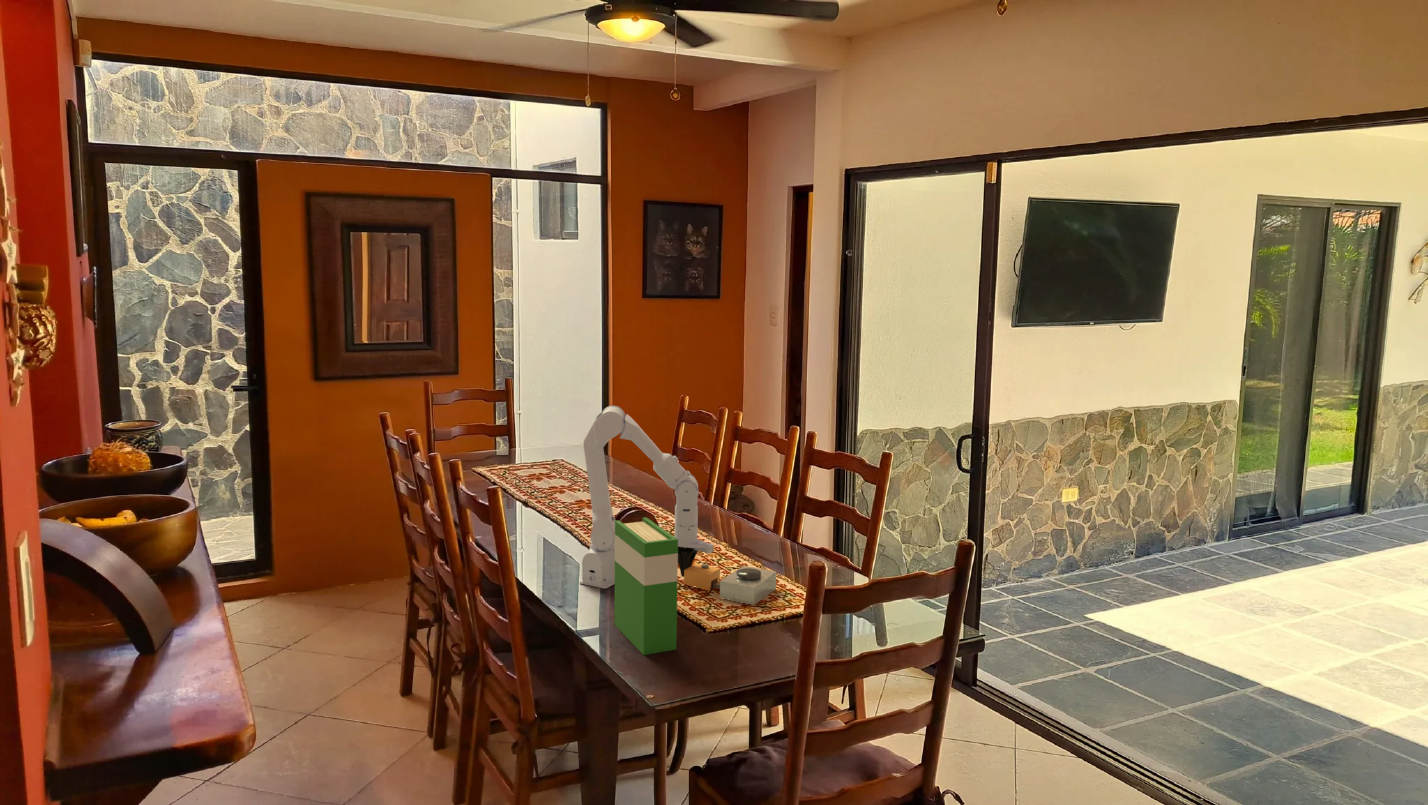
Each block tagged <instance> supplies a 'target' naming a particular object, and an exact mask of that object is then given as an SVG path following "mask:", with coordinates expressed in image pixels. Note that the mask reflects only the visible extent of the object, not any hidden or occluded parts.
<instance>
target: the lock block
mask: <svg viewBox="0 0 1428 805" xmlns="http://www.w3.org/2000/svg"><path fill="white" fill-rule="evenodd" d="M711 581H718V582H720V581H721V568H720V567H717V566H716V567H714V566H710V564H707V563H703V564H700V563H693V564H692V566H691V567H689V568H687V569H686V570H684V577H683V585H684V584H687V585H690V586H696V587H699V588H705V589H708V590H709V589H710V588H711ZM711 589H712V588H711ZM711 589H710V590H711ZM708 590H707V591H708ZM710 590H709V591H710Z"/></svg>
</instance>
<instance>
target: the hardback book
mask: <svg viewBox="0 0 1428 805" xmlns="http://www.w3.org/2000/svg"><path fill="white" fill-rule="evenodd" d="M674 536H675V535H673V534H671V533H669V531H666V530H665V529H664V528H662V527H661V526H659V525H658V524H657V523H655V522H654V521H653V520H651V519H650V518H648V517H642V521H635V522H628V523H623V522H621V521H620V520H616V521H615V584H614V614H613V615H614V620H613V621H614V626H615V627H616V628H617V629H618V630H619V631H620V632H621V633H622V634H623V635H624V636H625V638H627V640H629V641H630V643H631V644H632V645H633V646H634V647H635V648H636V649H637V650H638V651H639V652H640V653H641V654H642V655H643V656H646V655H652V654H659V653H663V652H668V651H669V652H670V651H675V650H677V633H678V630H677V629H678V627H677V626H678V568H679V564H678V539H677V538H675V537H674Z"/></svg>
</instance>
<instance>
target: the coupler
mask: <svg viewBox="0 0 1428 805" xmlns="http://www.w3.org/2000/svg"><path fill="white" fill-rule="evenodd" d="M713 588H718V589H720V590H719V598H720V597H721V598H724V599H729V600H732V601H731V602H733V601H736V602H735V603H738V602H742V603H741V604H743V603H745V604H744V605H748V604H751V605H750V606H753V605H754V604H755V605H756V604H758V603H759V602H760V601H762V600H763V599H764V598H766V597H768V595H770V594H771V593H773V592H774V591H775V590H776V589H777V571H775V570H768V569H763V568H757V567H751V566H747V565H743V566H741V567H739V568H738V569H736V570H735V571H733V572H732V573H730V574H729V575H727V576H725V577H724V578H722V579H720V582H718V581H711V589H713ZM718 589H717V590H718ZM724 599H723V600H724ZM729 600H728V601H729ZM755 605H754V606H755Z"/></svg>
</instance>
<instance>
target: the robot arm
mask: <svg viewBox="0 0 1428 805" xmlns="http://www.w3.org/2000/svg"><path fill="white" fill-rule="evenodd" d="M618 435H620V436H619V439H622V440H629V441H632V443H634V445H636V447H637V448H639V449H640V451H641V452H643V454H644V455H646V456H647V458H648V459H650V460H651V461H652V463H653V465H652V469H653V471H654V472H655V473H656V474H657V476H659V477H660V478H661V480H662V481H664V483H665V484H666V485H667V486H668V487H669V488H670V489H673V490H675V491H674V495H675V498H676V499H675V500H676V502H675V506H674V535H673V536H674V537H675V538H677V539H678V568H679V570H680V571H679V572H680V574H681V575H680V576H681V577H682V578H684V570H686V569H687V568H689V567H691V566H692V565H693V564H694V563H693V562H694V560H695V558H696V557H697V555H698V552H705V554H711V553H713V552H714V544H713V543H709V542H706V541H703V540H701V539H699V538H698V526H699V525H698V524H699V523H698V522H699V521H698V519H699V517H698V516H699V506H698V502H699V500H698V497H699V493H700V492H699V491H700V490H699V483H698V481H697V479H696V477H695V476H694V475H693V474H691V472H690V471H689V470H686V469H685V468H684V467H683V466H682V465H681V464H680V462H678V460H679V458H678V457H677V456H676V455H673V454H671V453H665V452H662V451H661V449H659V447H658V446H657V444H656V443H654V441H653V440H652V439H651V438H650V437H649V436H648V434H647V433H646V432H645V431H644V430H643V428H641V427H640V425H639V424H638V423H637V422H636V421H635V420H634V419H633V418H632V417H631V416H630V415H629V414H626V413H625V411H624V410H623V409H622V407H620V406H617V405H608V406H607V407H605V408H604V409H603V410H602V411H601V412H599V414H598V415H597V416H596V418H595V420H594V421H593V423H592V425H591V427H590V429H589V430H588V432H587V434H586V436H585V438H584V440H583V451H584V457H585V465H586V475H587V480H588V481H587V482H588V490H589V496H590V503H591V510H592V515H591V516H592V517H591V518H592V519H591V522H592V530H591V533H590V545H589V546H590V547H589V550H588V552H586V554H585V555H583V557H582V562H581V563H582V566H581V567H582V569H581V570H582V572H581V573H582V574H581V575H582V576H581V577H582V578H581V580H580V581H579V584H582V585H586V586H589V587H590V586H591V587H595V588H599V589H605V590H606V589H608V588H610V587H612V586H613V585H614V586H615V521H617V520H616V518H615V517H614V513H613V508H612V505H611V504H612V503H611V497H610V490H609V489H610V488H609V483H608V482H609V481H608V473H607V466H606V458H605V451H604V448H605V446H606V444H607V443H608V442H610V440H611V439H614V438H615V437H617V436H618Z"/></svg>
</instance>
